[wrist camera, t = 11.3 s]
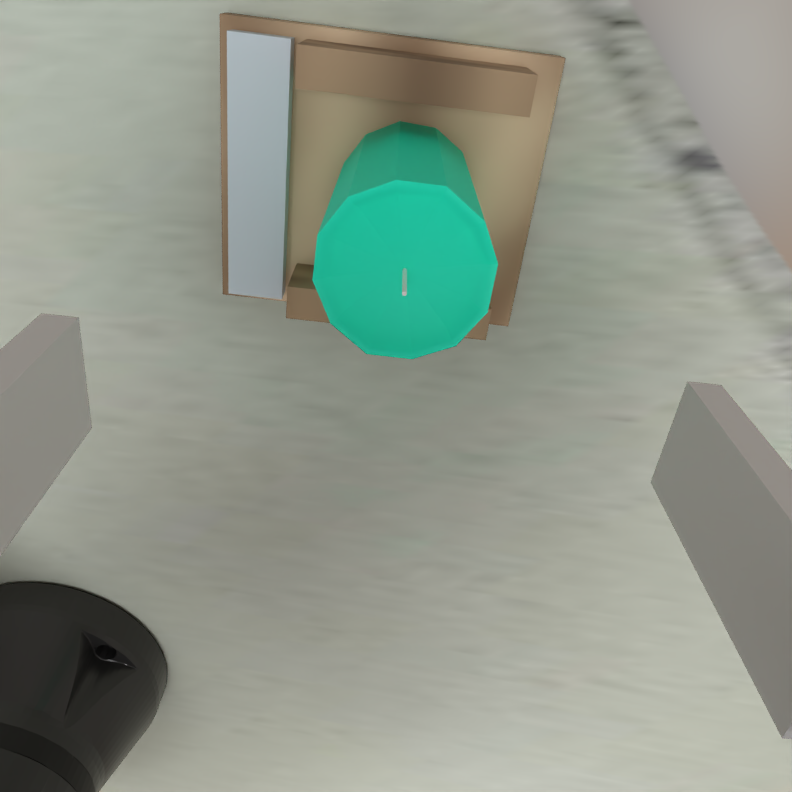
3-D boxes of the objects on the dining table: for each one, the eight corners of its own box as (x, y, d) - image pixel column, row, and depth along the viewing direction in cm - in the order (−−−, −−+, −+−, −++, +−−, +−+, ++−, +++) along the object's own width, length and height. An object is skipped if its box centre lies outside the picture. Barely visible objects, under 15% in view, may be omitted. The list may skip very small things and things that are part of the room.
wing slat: (233, 285, 34) (228, 293, 33) (232, 29, 28) (226, 30, 27) (285, 291, 34) (281, 299, 33) (294, 37, 28) (290, 38, 27)
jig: (228, 284, 35) (207, 319, 31) (226, 12, 29) (200, 16, 25) (505, 316, 36) (516, 353, 32) (559, 55, 30) (580, 65, 26)
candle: (436, 276, 33) (448, 407, 23) (318, 224, 32) (275, 337, 22) (497, 158, 31) (543, 246, 20) (371, 95, 29) (351, 155, 19)
